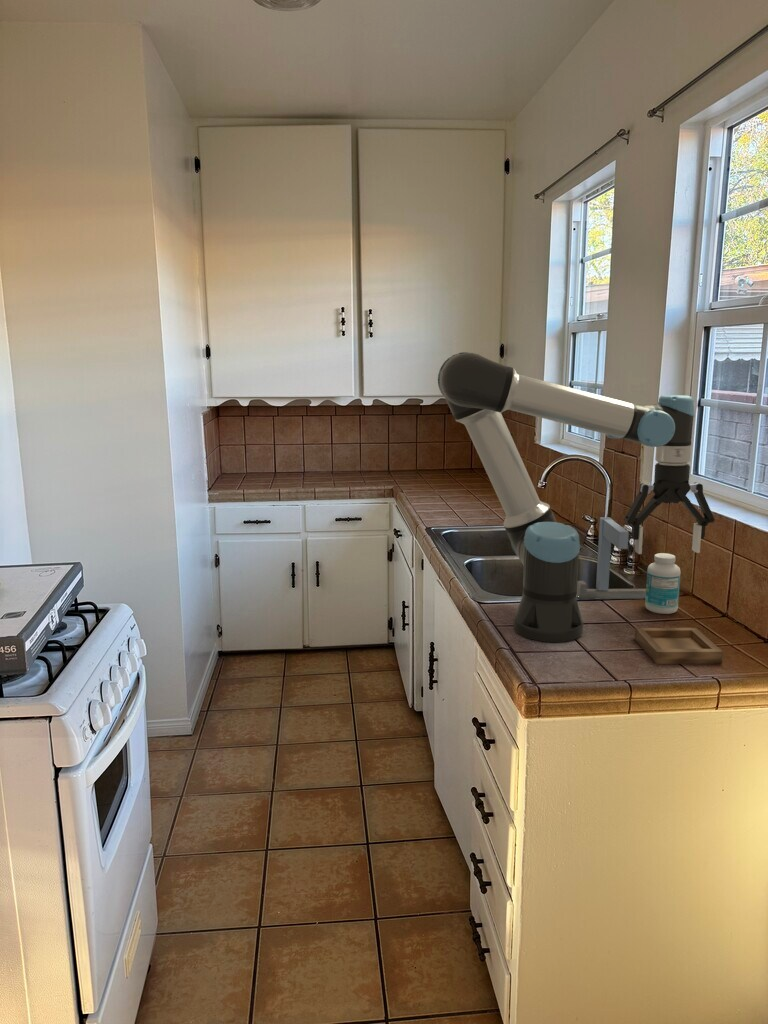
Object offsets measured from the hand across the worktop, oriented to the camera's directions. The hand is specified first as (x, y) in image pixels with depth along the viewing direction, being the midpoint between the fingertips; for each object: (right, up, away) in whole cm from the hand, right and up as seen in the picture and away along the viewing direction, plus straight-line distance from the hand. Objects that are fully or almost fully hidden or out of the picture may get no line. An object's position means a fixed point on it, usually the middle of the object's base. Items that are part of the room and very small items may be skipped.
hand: (666, 552), depth 173 cm
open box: (-6, -19, -21) cm, 29 cm away
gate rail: (-6, -12, +12) cm, 18 cm away
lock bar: (-12, -11, +5) cm, 17 cm away
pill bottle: (0, -14, +3) cm, 15 cm away
